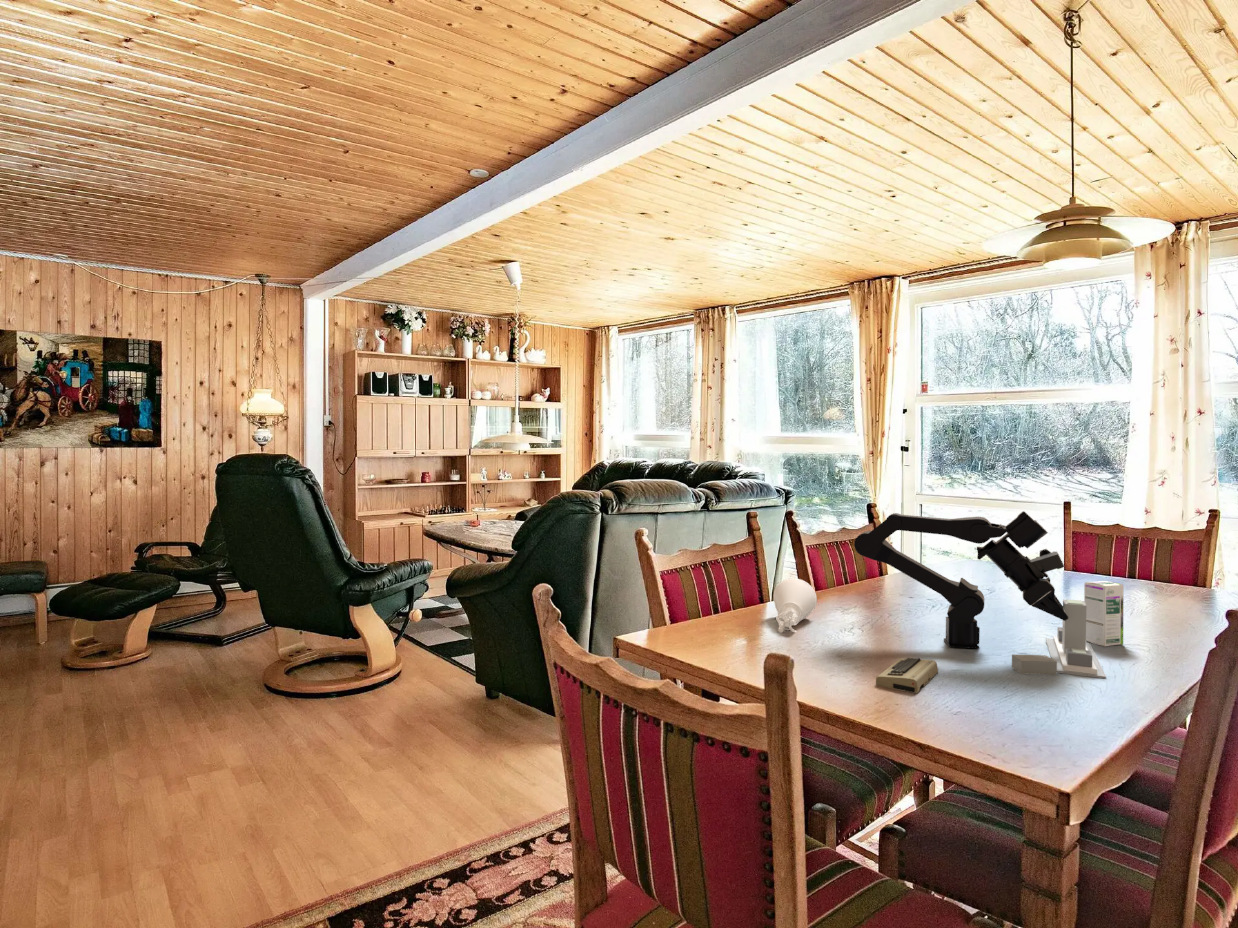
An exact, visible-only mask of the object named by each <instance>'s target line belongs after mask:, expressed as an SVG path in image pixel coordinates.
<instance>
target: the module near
mask: <svg viewBox="0 0 1238 928" xmlns="http://www.w3.org/2000/svg"><path fill="white" fill-rule="evenodd" d="M1066 662H1067V665H1074V666H1082V667H1091V668H1092V654H1091V652H1090V651H1087V650H1083V649H1073V648H1072V649H1069V648H1066Z"/></svg>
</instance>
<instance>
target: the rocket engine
mask: <svg viewBox="0 0 1238 928" xmlns="http://www.w3.org/2000/svg"><path fill="white" fill-rule="evenodd" d="M773 602H774V606H775V609H776V611H777V616H776V617H775V619H776V622H777V624H778V630H777V632H778V631H779V632H778V633H780V632H783V633H785V632H786V630H787V631H788V630H791V631H790V632H792V633H794V632H795V633H797V630H795V629H794V628H793V627H792V626H797V625H798V624H799V623H800V622H801V621H803V620H804V619H806V618H807V617H808V616H810V615H811V614H812V613H813V611H814V610H815V608H816V606H817V602H818V596H817V594H816V591H815V589H814V588H813V586H812V585H810V583H808V582H807V581H805V580H803V579H801V578H796V577H795V578H793V577H792V578H787V579H784V580H782V581H780V582H779V583H778V584H777V585H776V586H775V588H774V590H773Z"/></svg>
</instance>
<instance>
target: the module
mask: <svg viewBox="0 0 1238 928" xmlns="http://www.w3.org/2000/svg"><path fill="white" fill-rule="evenodd" d="M1062 606H1063V610H1064V612H1065V613H1066V614H1067V616H1068V619H1067V620H1066V621H1064V620H1062V628H1063V629H1062V649H1063V651H1064V653H1066V648H1069V649H1072V648H1073V649H1083V650H1086V643H1087V641H1086V608H1087V606H1086V604H1085V602H1084V600H1078V599H1068V598H1067V599H1063V600H1062Z"/></svg>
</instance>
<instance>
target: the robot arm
mask: <svg viewBox="0 0 1238 928" xmlns="http://www.w3.org/2000/svg"><path fill="white" fill-rule="evenodd" d="M896 531H903V532H904V531H905V532H912V533H923V534H930V535H931V534H933V535H942V536H950V537H953V538H956V539H959V540H963V541H966V542H969V543H970V542H971V543H973V544H985V543H986V542H987V543H986V544H985V545H984V546H976V551H977V556H976V557H977V560H982V559H983V558H984V557H985V556H987V557H988V559H989V560H990V561H992V562H993V563H994V565H996V566H997V568H999V570H1001V571H1002V572H1003V573H1004V576H1005V577H1006V578H1007V579H1010V581H1012V583H1013V584H1014V585H1016V587H1017V588H1018V589H1017V590H1019V591H1020V592H1021V593H1022V599H1023V600H1024V602H1025V603H1027V604H1028V605H1029V606H1031V607H1033V608H1035V609H1038V610H1040V611H1042V612H1044V613H1047V614H1049V615H1051V616H1053V617H1055V618H1058V619H1060V620H1061V621H1063V620H1064V621H1066V620H1067V619H1068V616H1067V614H1066V613H1065V612H1064V610H1063V603H1061V601H1060V600H1059V599H1058V597H1057V596H1056V594H1055V593H1056V589H1055V587H1054V585H1053V584H1052V583H1051V578H1050V576H1049V575H1048V573H1047V572H1050V571H1053V570H1056V569H1057V570H1060V569H1062V568H1063V569H1064V567H1065V565H1064V562H1063V560H1062V557H1060V554H1059V553H1058V551H1052V552H1051V551H1050V550H1048V549H1047V548H1043V549H1041V550H1039V554H1038V555H1039V556H1036V557H1035V558H1032V559H1031V558H1029V557H1028V556H1026V555H1023V553H1021V552H1020V551H1019V550H1018V549H1017V548H1019V549H1021V548H1026V549H1027V550H1028V549H1029V548H1030V547H1032V546H1033V545H1034V544H1035V543H1037V542H1038V541H1040V540H1041V539H1042V538H1043V537H1044V536H1046V535H1047V534H1049V532H1048V531H1047V530H1046V529H1045V528H1044V527H1043V526H1042V525H1041V524H1040V523H1039V522H1038V521H1037V520H1036V519H1033V517H1031V516H1030V515H1029V514H1028V513H1027V512H1026V511H1024V510H1023V511H1022V512H1020V513H1019V514H1018V515H1017V516H1016V517H1015V518H1014V519H1013V520H1012V521H1010V522H1009V523H1008V524H1007V525H1005V524H1004V525H1003V524H1002V523H1000V524H998V523H993V522H990V520H989V519H987V518H986V517H983V516H967V517H958V518H941V517H932V516H931V517H930V516H921V515H920V516H919V515H909V514H901V513H898V512H894V513H891V514H889V515H888V516H887V517H886V519H884V521H882V522H880V524H879V525H877V526H876V527H875V528H874V529H872V530H865V531H864V532H861V533H860V534H859V535H857V537H855V540H854V543H853V545H854V549H855V551H856V553H857V554H859V555H860V556H862V557H865V558H867V559H869V560H873V561H875V562H880V563H883V564H886V565H889V566H890V567H893V568H894V570H895V569H896V570H897V571H898V572H901V573H903V574H904V575H906V576H908V577H910V578H912V579H913V580H915V581H916V582H918V583H920V584H922V585H923V586H925V587H927V588H929V589H930V590H932V591H934V592H936V593H937V594H939V595H941V596H942V597H943V598H944V599H945V600H946V601H947V602H948V604H949V606H948V610H947V613H946V615H947V616H945V637H944V638H943V641H944V643H945V644H946V645H947V646H948V647H949V648H959V649H960V648H961V649H977V650H978V649H980V646H979V645H980V632H981V631H980V626H979V625H978V620H977V619H975V617H976V616H978V615H980V614H982V612H983V611H984V608H985V596H984V594H983V592H982V590H980V589H979V585H976V584H972V583H970V582H969V581H967V579H965V578H963V577H960V580H959V581H956V580H952V579H949V578H948V577H945V576H944V575H942V574H941V573H939V572H936V571H935V570H933V569H931V568H929V567H928V566H926V565H924V564H922V563H921V562H919V561H917V560H915V559H914V558H912V557H910V556H908V555H907V554H904V553H903V552H901V551H899V550H898V549H896V548H895V547H894V546H893V545H892V544H891V543H890V542H889V541H888V540H886V539H888V538H889V537H890V536H891V535H893V534H894V533H896ZM995 538H999V539H998V540H997V541H995V540H994V539H995ZM990 539H991V540H990ZM1008 539H1009V540H1010V541H1011V542H1012V543H1013V544H1014V545H1015V546H1017V548H1016V547H1015V546H1014V545H1013V544H1012V543H1010V541H1009V540H1008Z"/></svg>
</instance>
